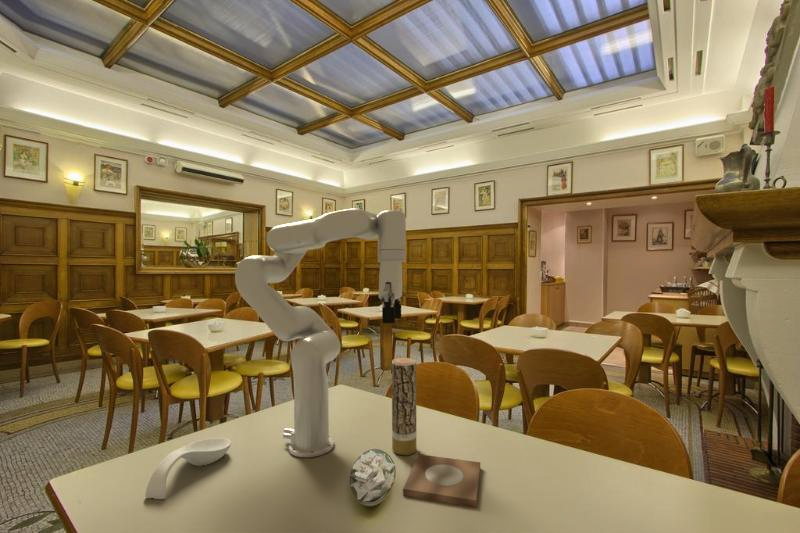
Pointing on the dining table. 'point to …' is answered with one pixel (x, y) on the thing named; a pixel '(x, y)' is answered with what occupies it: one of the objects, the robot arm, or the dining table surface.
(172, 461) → the spoon rest
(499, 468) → the dining table surface
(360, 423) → the dining table surface
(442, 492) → the board
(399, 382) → the bark print can
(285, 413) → the dining table surface
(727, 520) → the dining table surface
